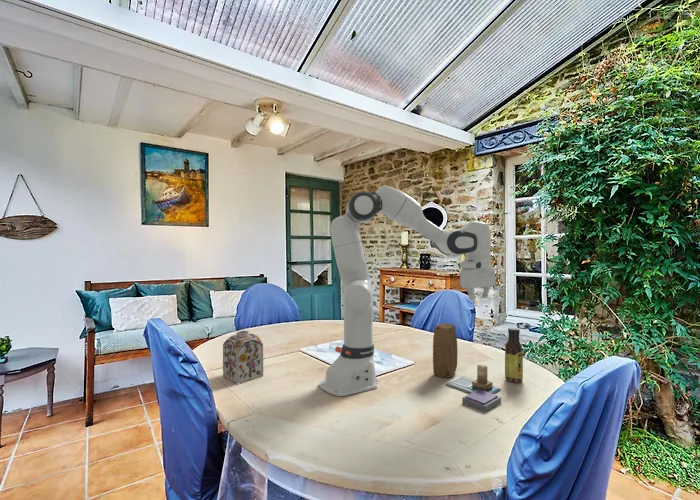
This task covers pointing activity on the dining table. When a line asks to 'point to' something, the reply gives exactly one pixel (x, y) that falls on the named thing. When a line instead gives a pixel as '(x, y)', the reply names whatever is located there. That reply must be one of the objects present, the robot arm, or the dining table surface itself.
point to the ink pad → (481, 400)
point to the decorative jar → (242, 357)
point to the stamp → (482, 379)
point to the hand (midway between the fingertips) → (478, 298)
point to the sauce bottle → (513, 357)
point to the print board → (467, 385)
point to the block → (444, 350)
